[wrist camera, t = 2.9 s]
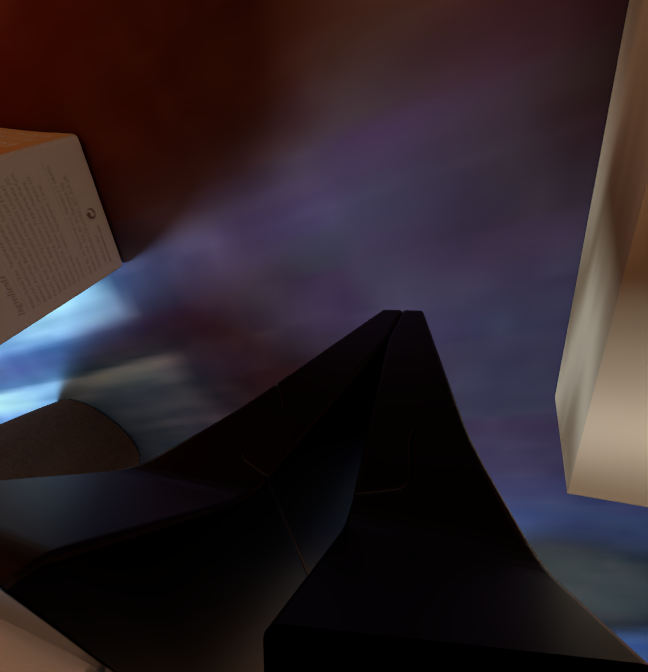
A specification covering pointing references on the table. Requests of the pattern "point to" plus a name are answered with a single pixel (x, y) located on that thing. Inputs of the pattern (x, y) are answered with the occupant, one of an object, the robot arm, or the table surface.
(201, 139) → the table surface
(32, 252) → the small box
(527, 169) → the table surface
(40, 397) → the table surface
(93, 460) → the plant pot
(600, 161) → the deck
